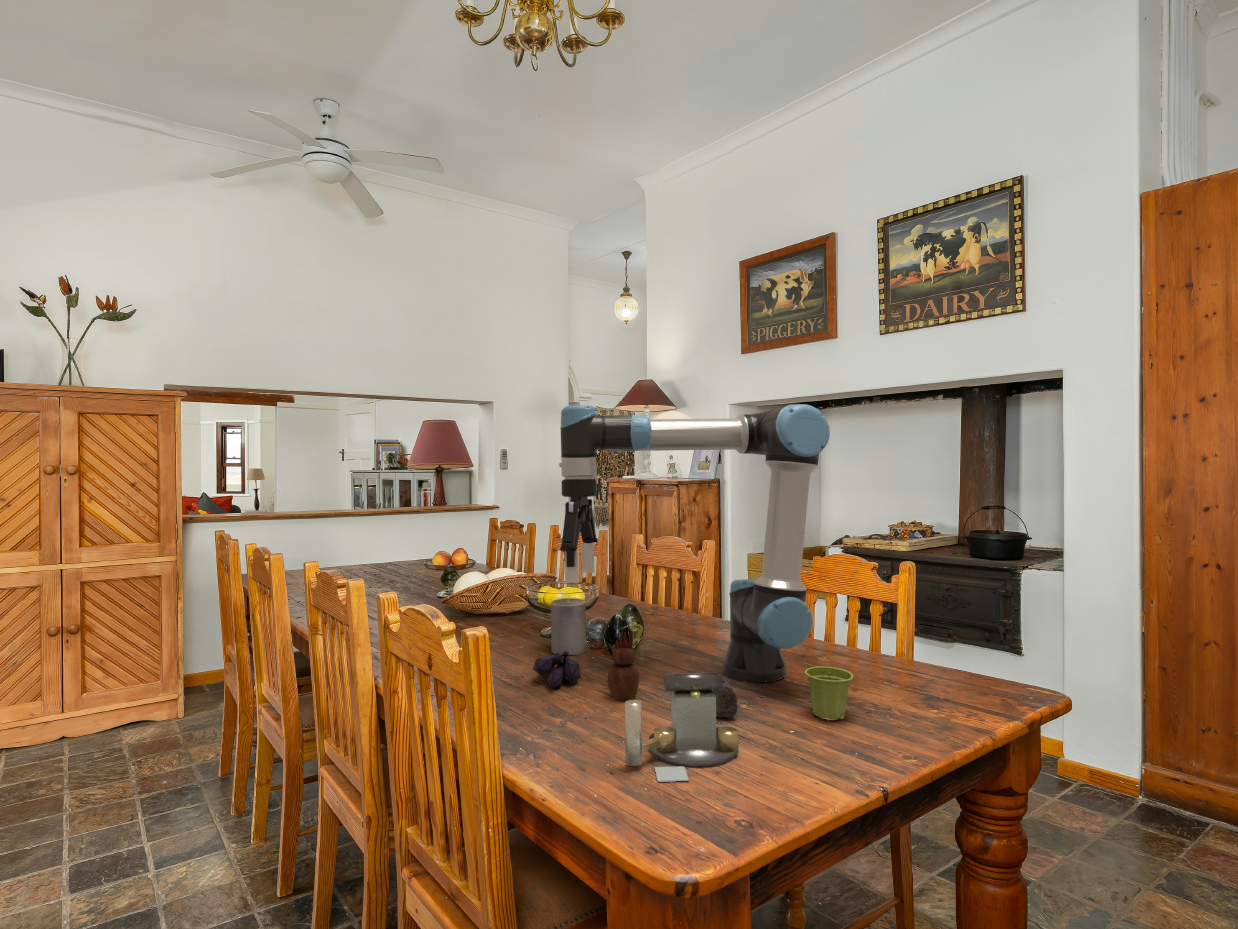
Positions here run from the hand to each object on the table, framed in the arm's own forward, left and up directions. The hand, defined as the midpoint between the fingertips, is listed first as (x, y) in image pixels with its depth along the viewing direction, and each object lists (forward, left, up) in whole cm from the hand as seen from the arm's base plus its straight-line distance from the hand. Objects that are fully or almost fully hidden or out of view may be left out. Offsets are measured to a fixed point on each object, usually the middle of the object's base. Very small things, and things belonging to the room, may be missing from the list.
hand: (580, 577), depth 145 cm
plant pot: (-50, +10, -27) cm, 58 cm away
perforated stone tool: (-28, +5, -27) cm, 40 cm away
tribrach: (-20, +24, -27) cm, 41 cm away
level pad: (-15, +35, -27) cm, 46 cm away
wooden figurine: (-9, -3, -27) cm, 29 cm away
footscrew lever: (-12, +29, -26) cm, 41 cm away
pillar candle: (+4, -42, -27) cm, 50 cm away
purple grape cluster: (+6, -17, -27) cm, 33 cm away
